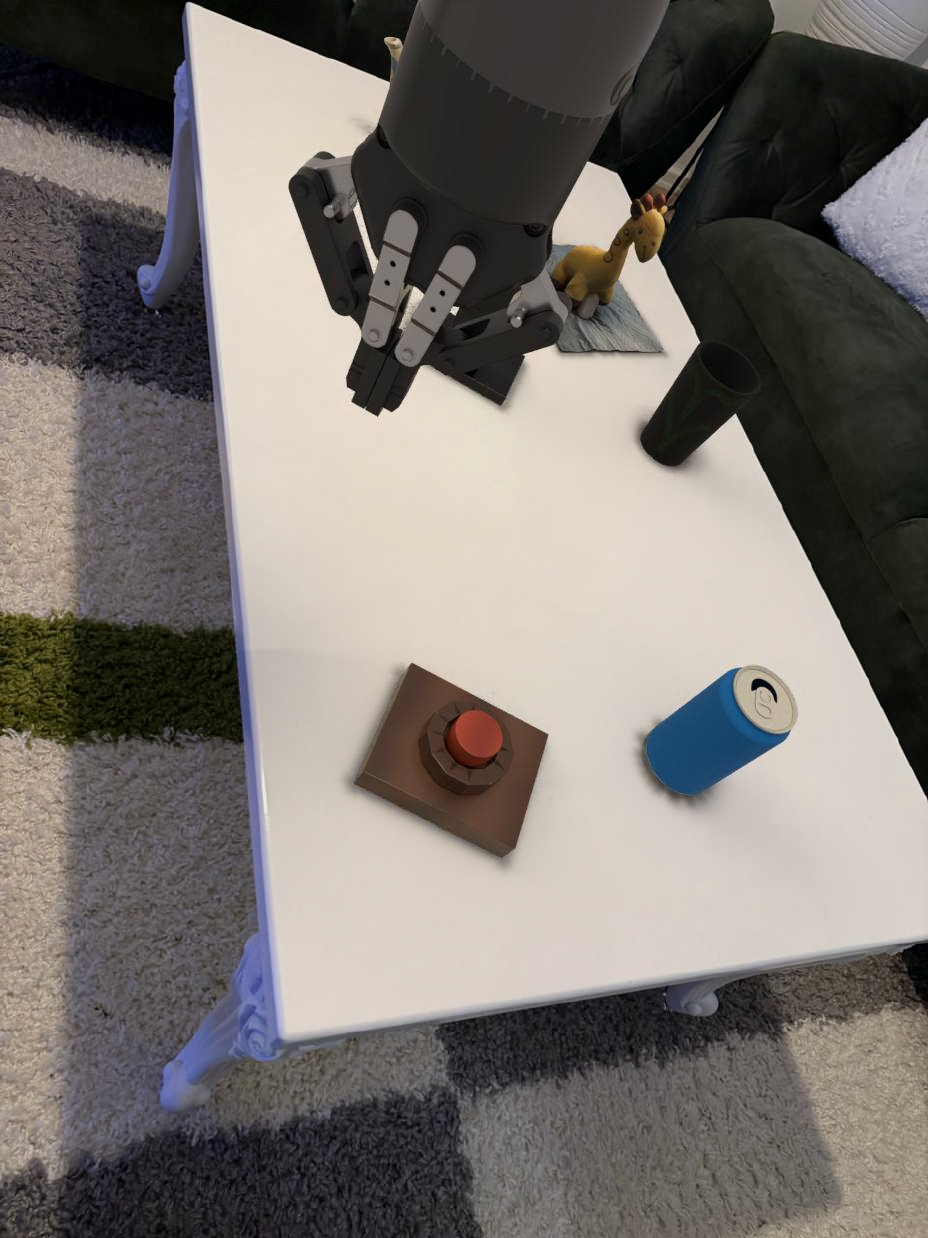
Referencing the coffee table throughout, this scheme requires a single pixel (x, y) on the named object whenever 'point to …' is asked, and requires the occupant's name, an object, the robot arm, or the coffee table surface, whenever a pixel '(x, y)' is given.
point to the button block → (452, 763)
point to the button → (474, 738)
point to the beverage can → (722, 729)
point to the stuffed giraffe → (607, 284)
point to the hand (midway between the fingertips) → (370, 399)
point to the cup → (700, 401)
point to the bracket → (496, 376)
